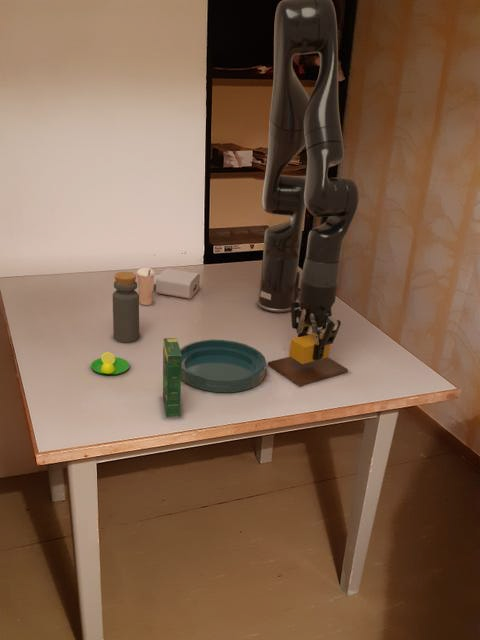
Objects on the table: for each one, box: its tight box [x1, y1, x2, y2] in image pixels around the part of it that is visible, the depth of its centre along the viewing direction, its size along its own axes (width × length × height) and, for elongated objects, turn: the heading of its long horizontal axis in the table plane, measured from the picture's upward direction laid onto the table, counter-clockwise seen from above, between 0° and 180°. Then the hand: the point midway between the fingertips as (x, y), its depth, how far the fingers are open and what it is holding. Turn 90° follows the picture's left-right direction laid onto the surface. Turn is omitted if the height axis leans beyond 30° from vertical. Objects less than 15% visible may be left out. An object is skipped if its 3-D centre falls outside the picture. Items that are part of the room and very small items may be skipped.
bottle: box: [112, 271, 140, 344], centre depth 151 cm, size 6×6×15 cm
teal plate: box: [180, 339, 267, 393], centre depth 143 cm, size 19×19×3 cm
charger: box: [154, 268, 201, 300], centre depth 181 cm, size 5×9×15 cm
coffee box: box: [162, 337, 182, 419], centre depth 126 cm, size 8×3×13 cm, turn 10°
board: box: [267, 356, 349, 387], centre depth 148 cm, size 14×11×1 cm
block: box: [288, 333, 331, 364], centre depth 145 cm, size 8×5×4 cm, turn 125°
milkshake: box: [136, 267, 156, 306], centre depth 170 cm, size 4×5×10 cm
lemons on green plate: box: [90, 351, 130, 375], centre depth 141 cm, size 8×8×3 cm
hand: (309, 354), depth 146 cm, fingers closed on block, 4 cm apart
